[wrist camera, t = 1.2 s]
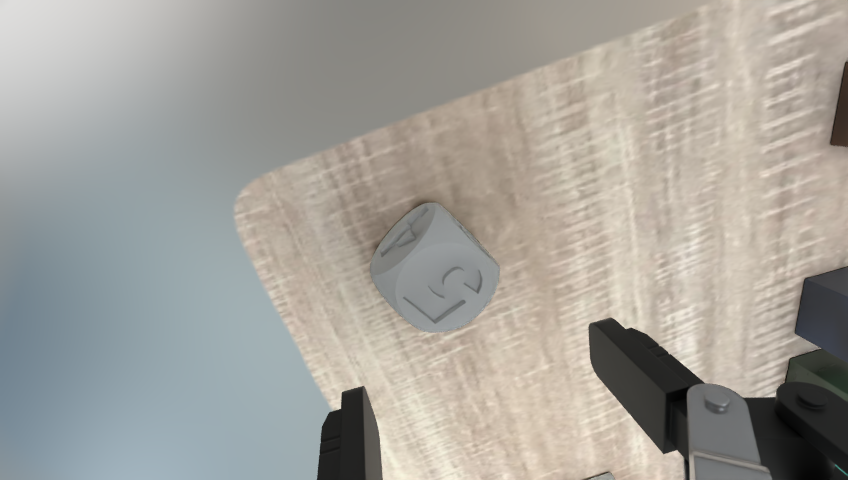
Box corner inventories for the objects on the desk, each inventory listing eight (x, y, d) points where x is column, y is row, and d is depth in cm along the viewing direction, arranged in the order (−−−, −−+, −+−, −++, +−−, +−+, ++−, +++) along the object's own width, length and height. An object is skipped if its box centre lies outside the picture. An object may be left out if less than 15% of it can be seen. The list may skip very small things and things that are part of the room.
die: (366, 252, 23) (370, 293, 19) (427, 191, 23) (446, 218, 18) (425, 301, 25) (442, 350, 21) (484, 246, 24) (514, 283, 20)
